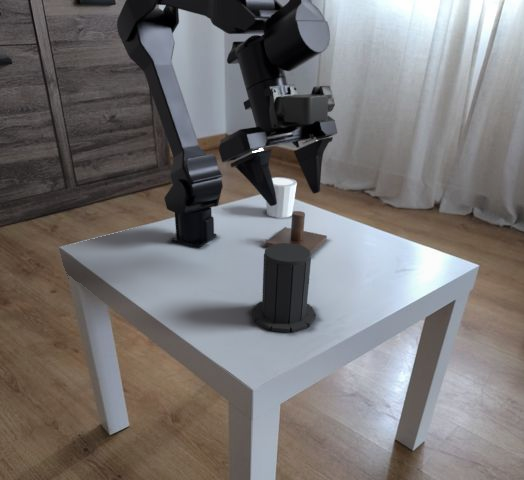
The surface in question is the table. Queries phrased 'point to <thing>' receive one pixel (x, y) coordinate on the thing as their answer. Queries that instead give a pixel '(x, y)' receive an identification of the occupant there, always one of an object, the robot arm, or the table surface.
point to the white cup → (283, 197)
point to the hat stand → (298, 234)
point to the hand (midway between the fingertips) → (296, 198)
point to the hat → (285, 289)
